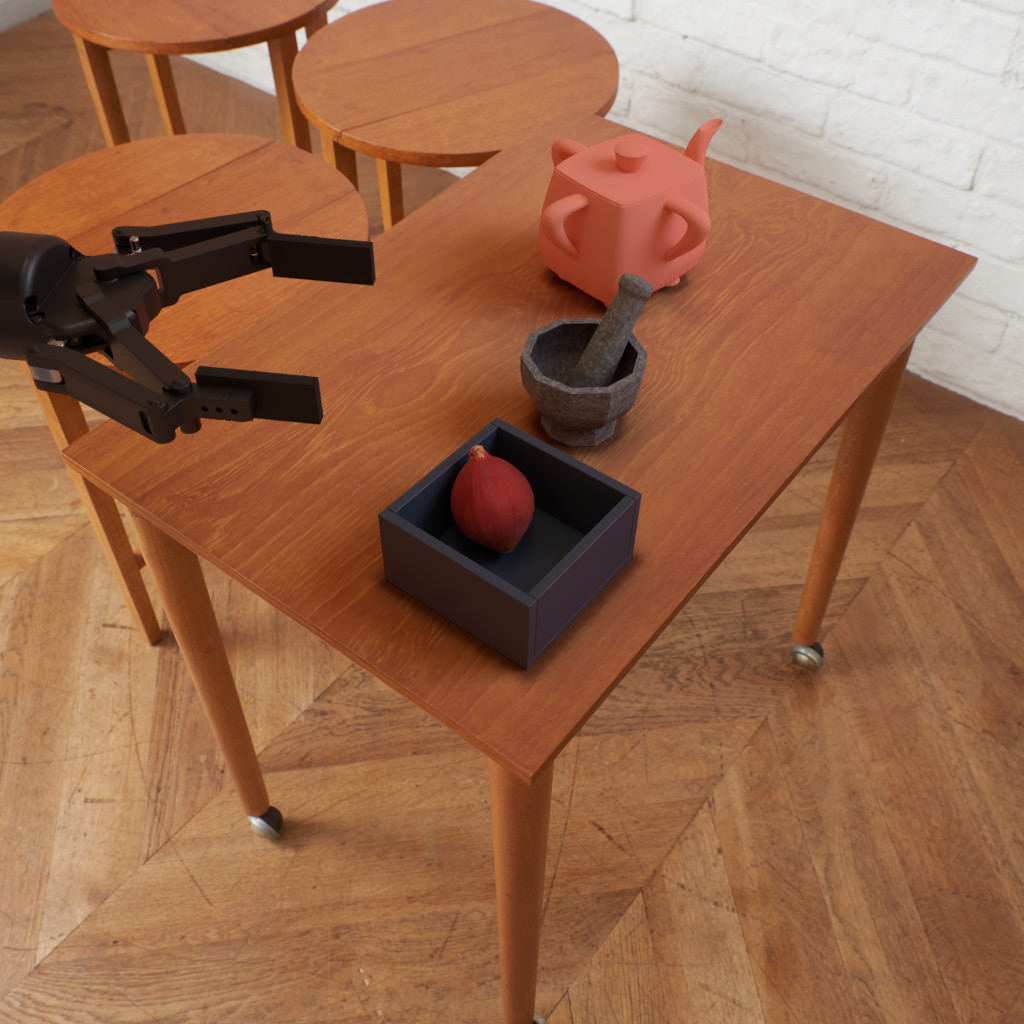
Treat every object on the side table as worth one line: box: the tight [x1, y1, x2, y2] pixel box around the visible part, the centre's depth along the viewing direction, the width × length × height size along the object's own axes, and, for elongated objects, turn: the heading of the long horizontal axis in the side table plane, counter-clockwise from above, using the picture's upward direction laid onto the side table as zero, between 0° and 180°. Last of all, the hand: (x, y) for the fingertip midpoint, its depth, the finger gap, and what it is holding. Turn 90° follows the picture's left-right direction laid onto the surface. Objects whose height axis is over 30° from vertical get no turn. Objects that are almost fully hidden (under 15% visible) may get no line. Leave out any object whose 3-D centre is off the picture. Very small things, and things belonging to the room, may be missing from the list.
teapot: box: [537, 118, 724, 309], centre depth 96 cm, size 17×16×13 cm
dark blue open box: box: [377, 416, 643, 671], centre depth 72 cm, size 13×13×7 cm
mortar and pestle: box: [519, 273, 653, 448], centre depth 82 cm, size 11×9×12 cm
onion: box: [450, 445, 535, 554], centre depth 73 cm, size 6×6×8 cm
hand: (349, 327), depth 61 cm, fingers open, 13 cm apart
